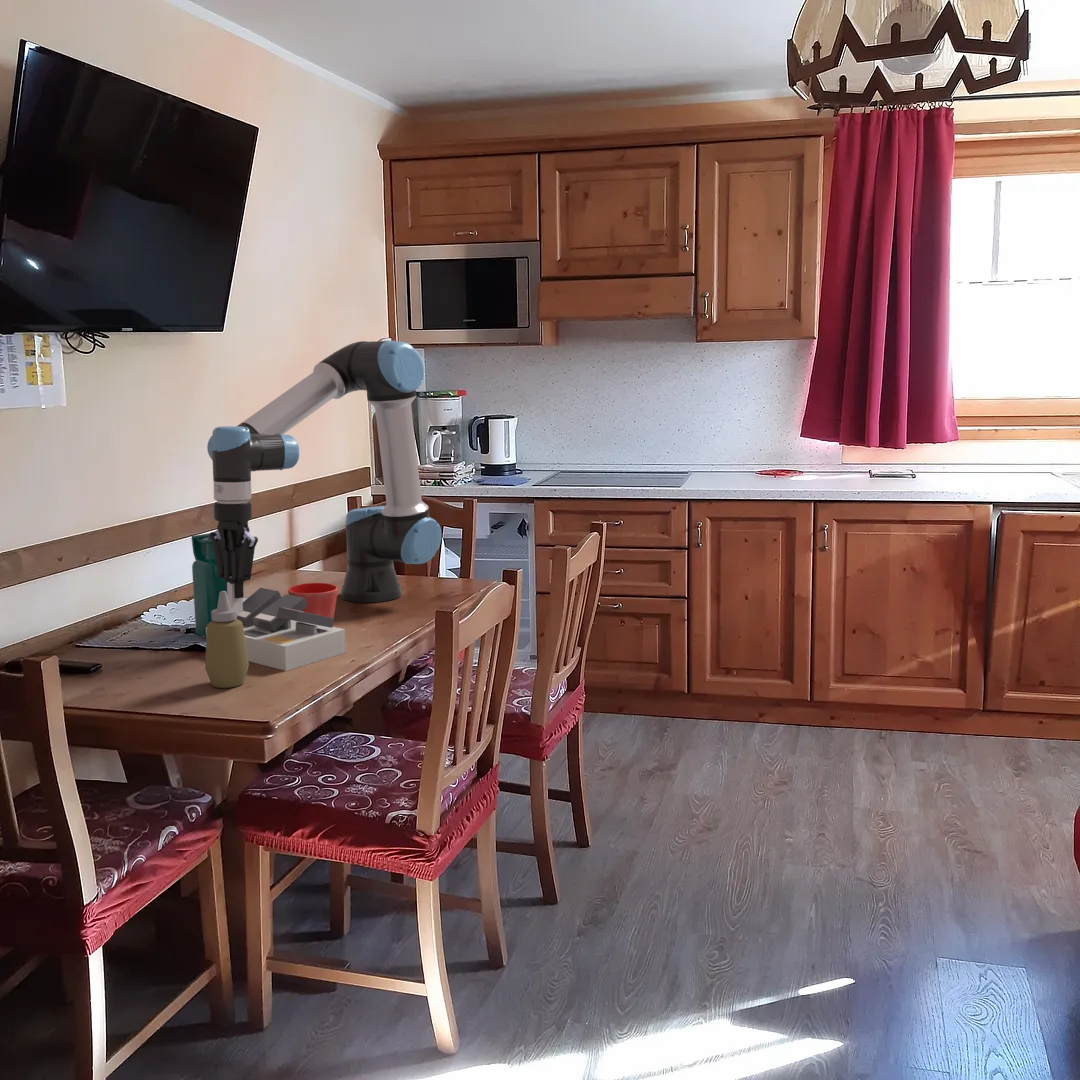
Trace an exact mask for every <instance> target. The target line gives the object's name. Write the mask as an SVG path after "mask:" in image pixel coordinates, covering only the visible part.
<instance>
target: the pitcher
mask: <svg viewBox="0 0 1080 1080" xmlns="http://www.w3.org/2000/svg"><path fill="white" fill-rule="evenodd" d="M210 533H211V532H210ZM210 533H204V534H202V533H201V534H197V535H192V536H191V545H192V553H193V556H194V560H195V561H193V563H192V567H191V573H192V574H191V575H192V587H193V589H192V591H193V603H194V605H193V606H194V607H193V608H194V622H195V623H194V625H195V633H196V635H198V636H200V635H201V636H200V637H203V636H204V637H203V638H206V627H207V624H209V623H210V622H211V621H213V620H212V615H211V611H213V610H215V609H217V606H218V600H219V594H220V591H226V582H225V581H224V579H223V578H220V577H219V575H218V569H217V563H216V558H215V552H214V547H213V542H212V540H211V538H210ZM223 572H224V571H223Z"/></svg>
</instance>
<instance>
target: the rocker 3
mask: <svg viewBox="0 0 1080 1080" xmlns="http://www.w3.org/2000/svg"><path fill="white" fill-rule="evenodd" d="M277 617H280V618H284V619H289V620H293V621H298V622H303V623H309V624H314V625H319V626H325V627H330V628H332V627H334V621H335V618H330V617H325V616H320V615H316V614H311V613H306V612H303V611H298V610H293V609H288V608H280V607H279V609H278V614H277Z"/></svg>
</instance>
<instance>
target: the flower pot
mask: <svg viewBox="0 0 1080 1080" xmlns="http://www.w3.org/2000/svg"><path fill="white" fill-rule="evenodd" d="M338 590H339V587H338V586H337V585H335V584H333V583H332V584H331V583H328V582H327V583H326V582H307V583H301V584H296V585H292V586H290V587H288V589H287V591H288V592H287V593H288V595H293V596H298V597H303V598H305V599H306V602H307V605H308V606H307V607H306V608H304V609H303V610H302V611H303V612H306V613H311V614H316V615H320V616H325V617H330V618H334V617H335V611H336V605H337V598H338V593H339V592H338ZM334 619H335V618H334Z"/></svg>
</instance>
